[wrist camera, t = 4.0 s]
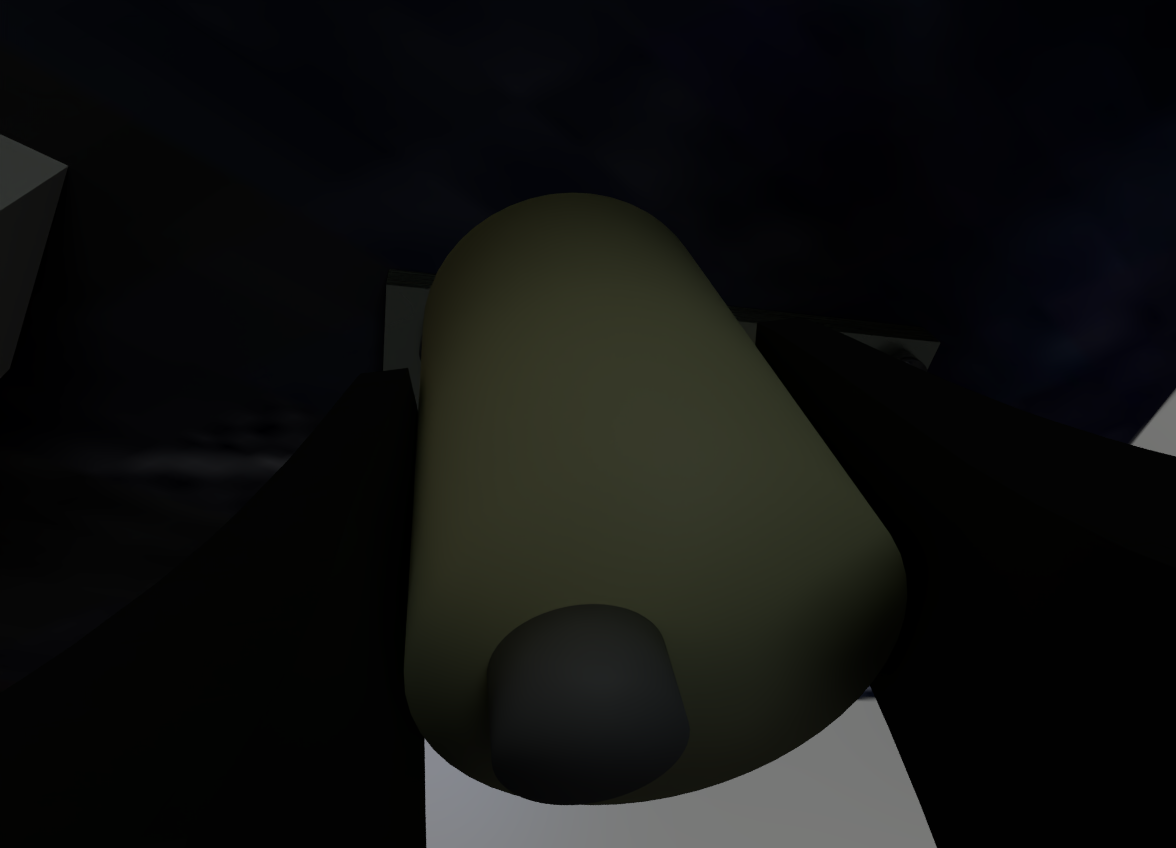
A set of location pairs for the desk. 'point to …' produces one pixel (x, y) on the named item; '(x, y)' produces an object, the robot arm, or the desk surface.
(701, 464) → the switch lever
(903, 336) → the mounting bracket
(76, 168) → the desk surface
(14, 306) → the grey cube
